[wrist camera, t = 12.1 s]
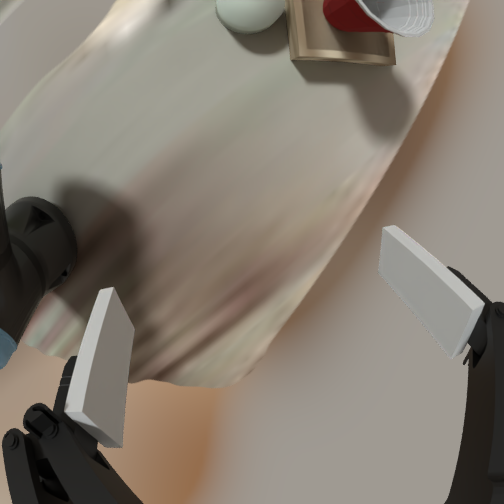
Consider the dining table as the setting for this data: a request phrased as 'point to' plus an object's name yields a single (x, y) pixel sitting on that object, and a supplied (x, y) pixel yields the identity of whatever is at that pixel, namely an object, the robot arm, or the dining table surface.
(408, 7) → the plastic cup
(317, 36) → the maple open box
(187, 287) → the dining table surface
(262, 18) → the pale green ball
